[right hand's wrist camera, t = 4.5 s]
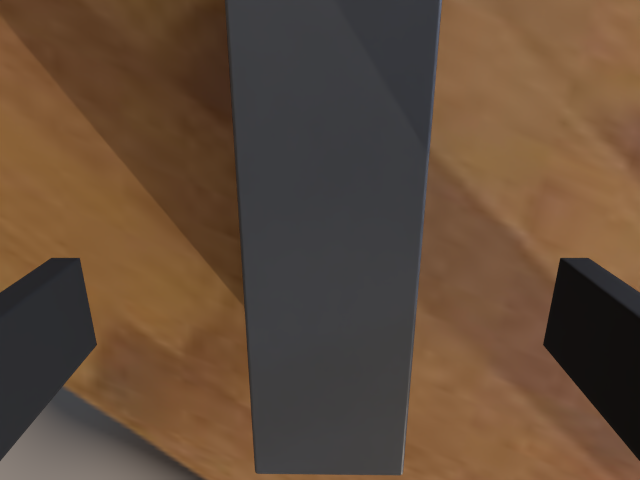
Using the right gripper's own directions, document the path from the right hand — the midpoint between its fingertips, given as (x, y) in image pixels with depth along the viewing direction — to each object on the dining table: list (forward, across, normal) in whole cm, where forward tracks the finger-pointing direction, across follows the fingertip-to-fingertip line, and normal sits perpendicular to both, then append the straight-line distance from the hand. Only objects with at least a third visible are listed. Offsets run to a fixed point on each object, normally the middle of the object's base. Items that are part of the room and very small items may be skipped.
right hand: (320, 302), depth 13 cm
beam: (+7, 0, -25) cm, 26 cm away
